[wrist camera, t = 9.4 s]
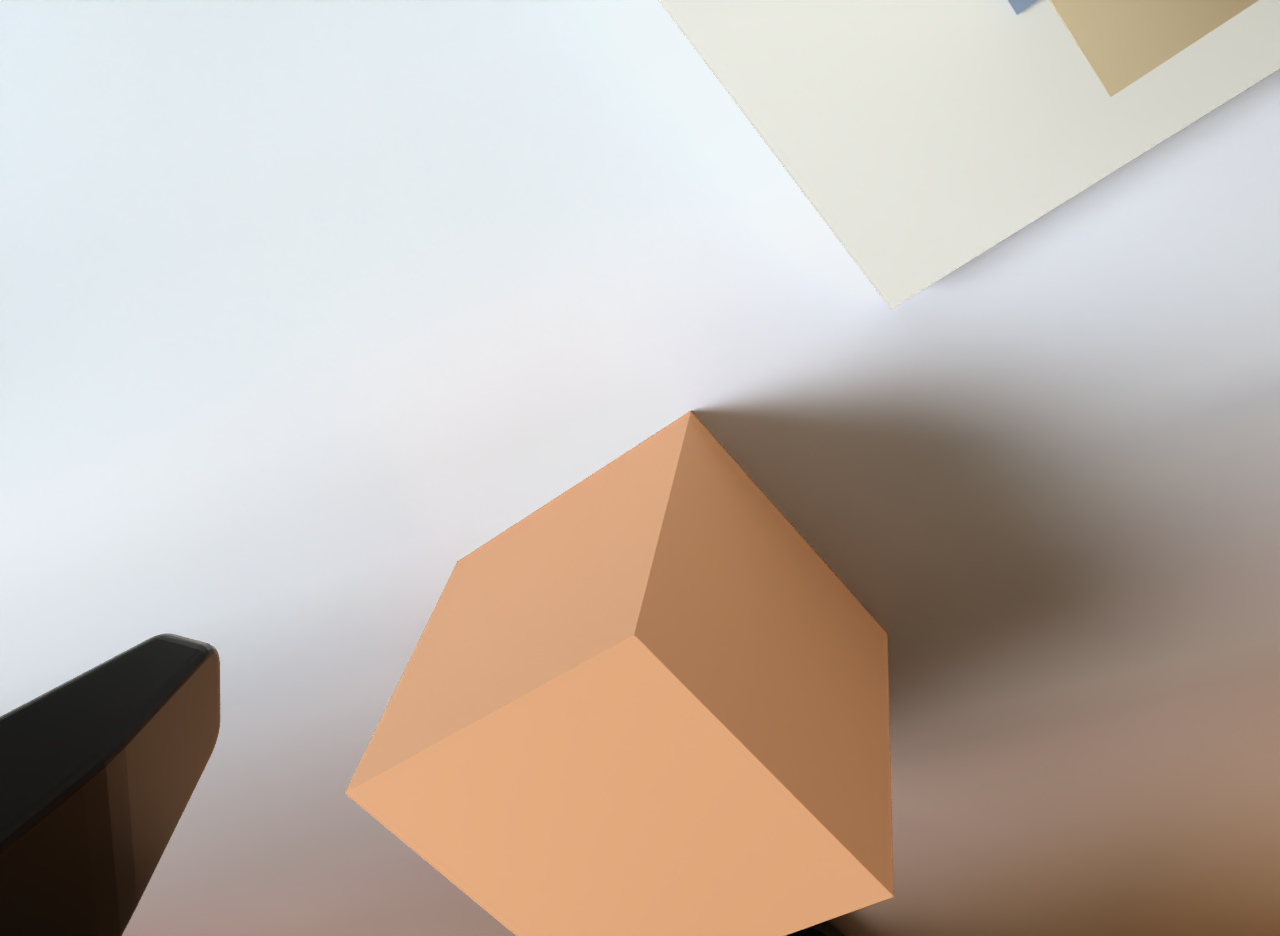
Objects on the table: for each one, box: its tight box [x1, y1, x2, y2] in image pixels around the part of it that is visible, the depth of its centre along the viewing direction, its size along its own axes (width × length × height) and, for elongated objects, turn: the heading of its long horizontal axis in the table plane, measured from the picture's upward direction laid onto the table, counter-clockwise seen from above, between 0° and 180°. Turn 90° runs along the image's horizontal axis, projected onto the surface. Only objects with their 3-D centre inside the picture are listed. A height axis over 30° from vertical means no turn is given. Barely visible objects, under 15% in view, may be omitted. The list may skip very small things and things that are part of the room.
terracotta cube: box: [345, 411, 894, 936], centre depth 20 cm, size 6×6×6 cm
